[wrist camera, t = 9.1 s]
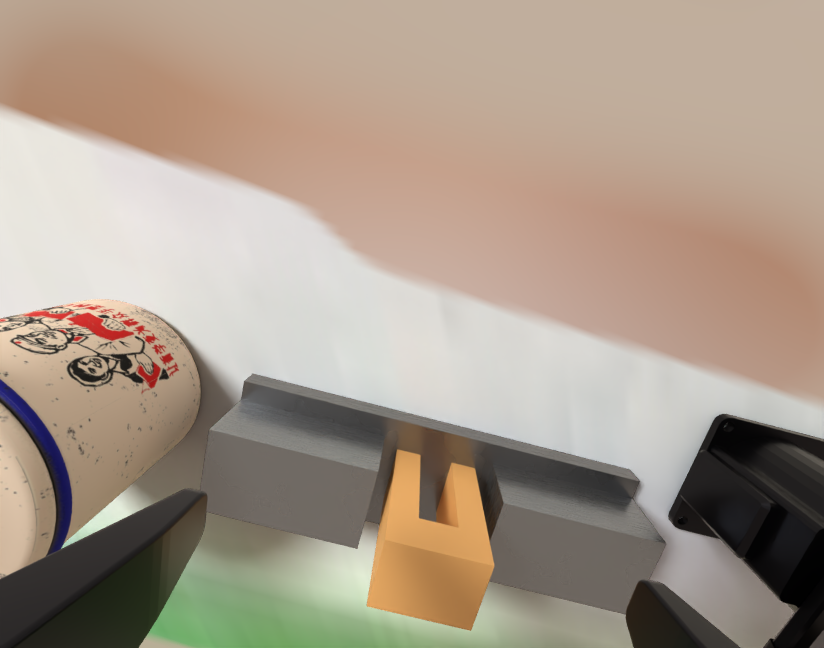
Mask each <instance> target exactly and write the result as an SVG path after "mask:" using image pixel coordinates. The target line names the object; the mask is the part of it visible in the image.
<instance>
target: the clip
mask: <svg viewBox="0 0 824 648" xmlns="http://www.w3.org/2000/svg"><path fill="white" fill-rule="evenodd" d="M420 457H421V455H419V454H415V453H411V452H407V451H403V450H398V449H397V451H396V455H395V459H394V462H393V466H392V470H391V474H390V477H389V481H388V485H387V488H386V492H385V496H384V499H383V505H382V512H381V518H380V524H379V531H378V537H377V543H376V550H375V556H374V562H373V569H372V575H371V581H370V588H369V594H368V600H367V606H368V607H372V608H377V609H381V610H385V611H389V612H394V613H398V614H402V615H406V616H411V617H415V618H419V619H423V620H428V621H432V622H436V623H440V624H445V625H449V626H453V627H457V628H462V629H466V630H470V631H471V629H472V627H473V624H474V621H475V618H476V616H477V613H478V610H479V607H480V605H481V602H482V599H483V596H484V594H485V591H486V588H487V586H488V583H489V580H490V577H491V575H492V572H493V569H494V561H493V556H492V551H491V546H490V541H489V536H488V531H487V526H486V521H485V516H484V511H483V506H482V501H481V496H480V491H479V486H478V481H477V476H476V471H475V468H472V467H468V466H464V465H460V464H456V463H451V466H450V470H449V473H448V476H447V479H446V482H445V486H444V489H443V492H442V495H441V499H440V502H439V505H438V508H437V511H436V522H432V521H428V520H424V519H420V518H419V495H420Z"/></svg>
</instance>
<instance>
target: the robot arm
mask: <svg viewBox="0 0 824 648" xmlns="http://www.w3.org/2000/svg"><path fill="white" fill-rule="evenodd" d="M726 423H728V425H727V426H726V427H724V425H725V424H726ZM207 500H208V497H207V494H206V493H205V492H204V491H199V490H194V489H184V490H181V491H179V492H177V493H175V494H173V495H171V496H169V497H167V498H165V499H163V500H161V501H159V502H157V503H155V504H153V505H151V506H149V507H146V508H144V509H142V510H140V511H138V512H136V513H134V514H132V515H130V516H128V517H126V518H124V519H122V520H120V521H118V522H116V523H114V524H112V525H110V526H107V527H105V528H103V529H101V530H99V531H97V532H95V533H93V534H91V535H89V536H87V537H85V538H83V539H81V540H79V541H77V542H75V543H73V544H70V545H68V546H66V547H64V548H62V549H60V550H58V551H56V552H54V553H52V554H50V555H48V556H46V557H44V558H42V559H40V560H38V561H36V562H33V563H31V564H29V565H27V566H25V567H23V568H21V569H19V570H17V571H15V572H13V573H11V574H9V575H7V576H5V577H3V578H1V579H0V648H139V646H140V645H141V643H142V642H143V640H144V639H145V637H146V636H147V634H148V633H149V631H150V629H151V628H152V626H153V625H154V623H155V622H156V620H157V618H158V617H159V615H160V613H161V611H162V609H163V608H164V606H165V604H166V602H167V600H168V598H169V597H170V595H171V593H172V591H173V589H174V587H175V585H176V584H177V582H178V580H179V578H180V576H181V574H182V572H183V571H184V569H185V567H186V565H187V563H188V561H189V559H190V558H191V556H192V554H193V552H194V550H195V548H196V546H197V545H198V543H199V541H200V539H201V537H202V534H203V531H204V528H205V520H206V510H207ZM682 516H683V517H682ZM668 517H669V520H670V521H671V522H672V524H673V525H674V526H675V527H676V528H679V529H682V530H686V531H690V532H694V533H698V534H702V535H706V536H710V537H714V538H718V539H721V540H722V541H723V542H724V543H725V545H726V546H727V547H728V548H729V549H730V550H731V551H732V552H733V553H734V554H735V555H736V556H737V557H739V558H741V559H742V560H743V561H744V563H745V564H746V565H747V566H748V567H749V568H750V569H751V570H752V571H753V572H754V573H755V574H756V575H757V576H758V577H759V578H760V579H761V580H762V582H763V583H764V584H765V585H766V586H767V587H768V588H769V589H770V590H771V591H772V592H773V593H774V594H775V595H776V596H777V597H778V598H779V600H780V601H782V602H784V603H787V604H788V605H789V606H790V607H791V608H792V609H793V610H794V612H795V613H794V614H793V615H792V617H791V618H790V619H789V621H788V622H787V623H786V624H785V626H784V627H783V628H782V630H781V631H780V632H779V634H778V635H777V636H776V637H775V639H771V638H770V640H769V641H768V642H767V644H766V645H765V646H764V647H763V648H824V439H821V438H817V437H813V436H810V435H806V434H802V433H798V432H794V431H790V430H786V429H783V428H779V427H775V426H771V425H767V424H763V423H760V422H756V421H752V420H748V419H744V418H740V417H736V416H733V415H729V414H721V415H719V416H717V417H716V418H715V419H714V421H713V423H712V425H711V427H710V429H709V431H708V433H707V435H706V437H705V439H704V441H703V444H702V446H701V448H700V450H699V452H698V454H697V456H696V458H695V460H694V462H693V464H692V466H691V468H690V470H689V473H688V475H687V477H686V479H685V481H684V483H683V485H682V487H681V489H680V491H679V493H678V495H677V497H676V500H675V502H674V504H673V506H672V508H671V510H670V512H669V515H668ZM680 517H682V518H681V519H679V518H680ZM626 622H627V626H628V630H629V633H630V637H631V640H632V643H633V647H634V648H740V647H739V646H738V645H736V644H735V643H734V642H733V641H732V640H730V639H729V638H728V637H727V636H726V635H724V634H723V633H722V632H721V631H720V630H718V629H717V628H716V627H715V626H714V625H712V624H711V623H710V622H709V621H708V620H706V619H705V618H704V617H703V616H701V615H700V614H699V613H698V612H697V611H695V610H694V609H693V608H692V607H691V606H689V605H688V604H687V603H686V602H685V601H683V600H682V599H681V598H680V597H679V596H677V595H676V594H675V593H674V592H673V591H671V590H670V589H669V588H668V587H667V586H665V585H664V584H662V583H660V582H656V581H651V580H646V579H642V580H640V581H639V582H638V583H637V585H636V587H635V590H634V592H633V594H632V597H631V599H630V601H629V604H628V606H627V609H626Z"/></svg>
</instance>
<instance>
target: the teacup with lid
mask: <svg viewBox="0 0 824 648" xmlns="http://www.w3.org/2000/svg"><path fill="white" fill-rule="evenodd" d="M200 398H201V387H200V379H199V374H198V371H197V368H196V365H195V362H194V360H193V357H192V356H191V354H190V352H189V350H188V348H187V347H186V345H185V344H184V342H183V341H182V340H181V339H180V337H179V336H178V335H177V334H176V333H175V332H174V331H173V330H172V329H171V328H170V327H169V326H168V325H167V324H166V323H165V322H163V321H162V320H161V319H159V318H158V317H156V316H155V315H153V314H152V313H150V312H148V311H146V310H144V309H142V308H140V307H137V306H135V305H132V304H128V303H125V302H121V301H116V300H109V299H94V300H85V301H80V302H75V303H70V304H66V305H61V306H56V307H52V308H47V309H43V310H38V311H33V312H29V313H24V314H19V315H15V316H10V317H6V318H1V319H0V579H1V578H3V577H5V576H7V575H9V574H11V573H13V572H15V571H17V570H19V569H21V568H23V567H25V566H27V565H29V564H31V563H33V562H36V561H38V560H40V559H42V558H44V557H46V556H48V555H50V554H52V553H54V552H56V551H58V550H60V549H61V548H62V546H63V544H64V543H65V542H66V541H67V540H68V539H69V538H70V537H72V536H73V535H74V534H75V533H76V532H77V531H78V530H80V529H81V528H82V527H83V526H84V525H85V524H86V523H88V522H89V521H90V520H91V519H92V518H93V517H94V516H96V515H97V514H98V513H99V512H100V511H101V510H102V509H104V508H105V507H106V506H107V505H108V504H109V503H110V502H112V501H113V500H114V499H115V498H116V497H117V496H119V495H120V494H121V493H122V492H123V491H124V490H125V489H127V488H128V487H129V486H130V485H131V484H132V483H133V482H135V481H136V480H137V479H138V478H139V477H140V476H141V475H143V474H144V473H145V472H146V471H147V470H148V469H149V468H151V467H152V466H153V465H154V464H155V463H156V462H157V461H159V460H160V459H161V458H162V457H163V456H164V455H165V454H167V453H168V452H169V451H170V450H171V449H172V448H173V447H175V446H176V445H177V444H178V443H179V442H180V441H181V440H182V439H183V438H184V437H185V436H186V434H187V433H188V432H189V430H190V429H191V427H192V426H193V424H194V421H195V419H196V417H197V414H198V410H199V405H200Z"/></svg>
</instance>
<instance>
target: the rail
mask: <svg viewBox="0 0 824 648" xmlns="http://www.w3.org/2000/svg"><path fill="white" fill-rule="evenodd" d="M397 449H398V450H403V451H407V452H411V453H415V454H419V455H421V457H420V495H419V518H420V519H424V520H428V521H432V522H436V511H437V508H438V505H439V502H440V499H441V495H442V492H443V489H444V486H445V482H446V479H447V476H448V473H449V470H450V466H451V463H456V464H460V465H464V466H468V467H472V468H475V471H476V476H477V481H478V486H479V491H480V496H481V501H482V506H483V511H484V516H485V521H486V526H487V531H488V536H489V541H490V546H491V551H492V556H493V561H494V569H493V572H492V575H491V577H490V580H489V581H491V582H495V583H499V584H503V585H507V586H512V587H516V588H520V589H524V590H528V591H532V592H536V593H540V594H544V595H548V596H552V597H556V598H561V599H565V600H569V601H573V602H577V603H581V604H585V605H589V606H593V607H597V608H601V609H605V610H610V611H614V612H618V613H622V614H626V609H627V606H628V604H629V601H630V599H631V597H632V594H633V592H634V590H635V587H636V585H637V583H638V582H639V581H640V580H642V579H646V580H649V578H650V576H651V574H652V572H653V570H654V568H655V566H656V564H657V562H658V560H659V558H660V556H661V554H662V552H663V550H664V548H665V546H666V543H665V541H664V540H663V539H662V537H661V536H660V535H659V533H658V532H657V531H656V529H655V528H654V527H653V526H652V524H651V523H650V522H649V520H648V519H647V518H646V516H645V515H644V514H643V512H642V511H641V510H640V508H639V507H638V506H637V504H636V503H635V502H634V500H633V499H632V497H633V495H634V493H635V491H636V488H637V486H638V484H639V482H640V481H639V480H638V479H637V478H636V476H635V475H634V474H633V473H632V472H631V470H629V469H625V468H621V467H617V466H613V465H610V464H606V463H602V462H598V461H594V460H590V459H586V458H582V457H578V456H574V455H570V454H566V453H562V452H558V451H555V450H551V449H547V448H543V447H539V446H535V445H531V444H527V443H523V442H519V441H515V440H511V439H507V438H503V437H499V436H496V435H492V434H488V433H484V432H480V431H476V430H472V429H468V428H464V427H460V426H456V425H452V424H448V423H444V422H441V421H437V420H433V419H429V418H425V417H421V416H417V415H413V414H409V413H405V412H401V411H397V410H393V409H389V408H386V407H382V406H378V405H374V404H370V403H366V402H362V401H358V400H354V399H350V398H346V397H342V396H338V395H334V394H331V393H327V392H323V391H319V390H315V389H311V388H307V387H303V386H299V385H295V384H291V383H287V382H283V381H279V380H276V379H272V378H268V377H264V376H260V375H256V374H252V375H251V376H250V377H248V378H247V379H246V380H245V381H244V386H243V392H242V397H241V400H240V401H239V402H238V403H237V404H236V405H235V406H234V407H233V408H232V409H231V410H230V411H228V412H227V413H226V414H225V415H224V416H223V417H222V418H221V419H220V420H219V421H218V422H217V423H216V424H215V425H213V426H212V427H211V428H210V429H209V434H208V440H207V447H206V453H205V460H204V467H203V473H202V480H201V486H200V491H204V492H205V493H206V494H207V497H208V500H207V510H206V512H209V513H213V514H217V515H221V516H225V517H230V518H234V519H238V520H242V521H246V522H250V523H254V524H258V525H262V526H266V527H270V528H274V529H279V530H283V531H287V532H291V533H295V534H299V535H303V536H307V537H311V538H315V539H319V540H324V541H328V542H332V543H336V544H340V545H344V546H348V547H352V548H356V549H357V548H358V544H359V541H360V537H361V533H362V529H363V526H364V522H365V521H369V522H373V523H377V524H380V518H381V512H382V505H383V499H384V496H385V492H386V488H387V485H388V481H389V477H390V474H391V470H392V466H393V462H394V459H395V455H396V451H397Z"/></svg>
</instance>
